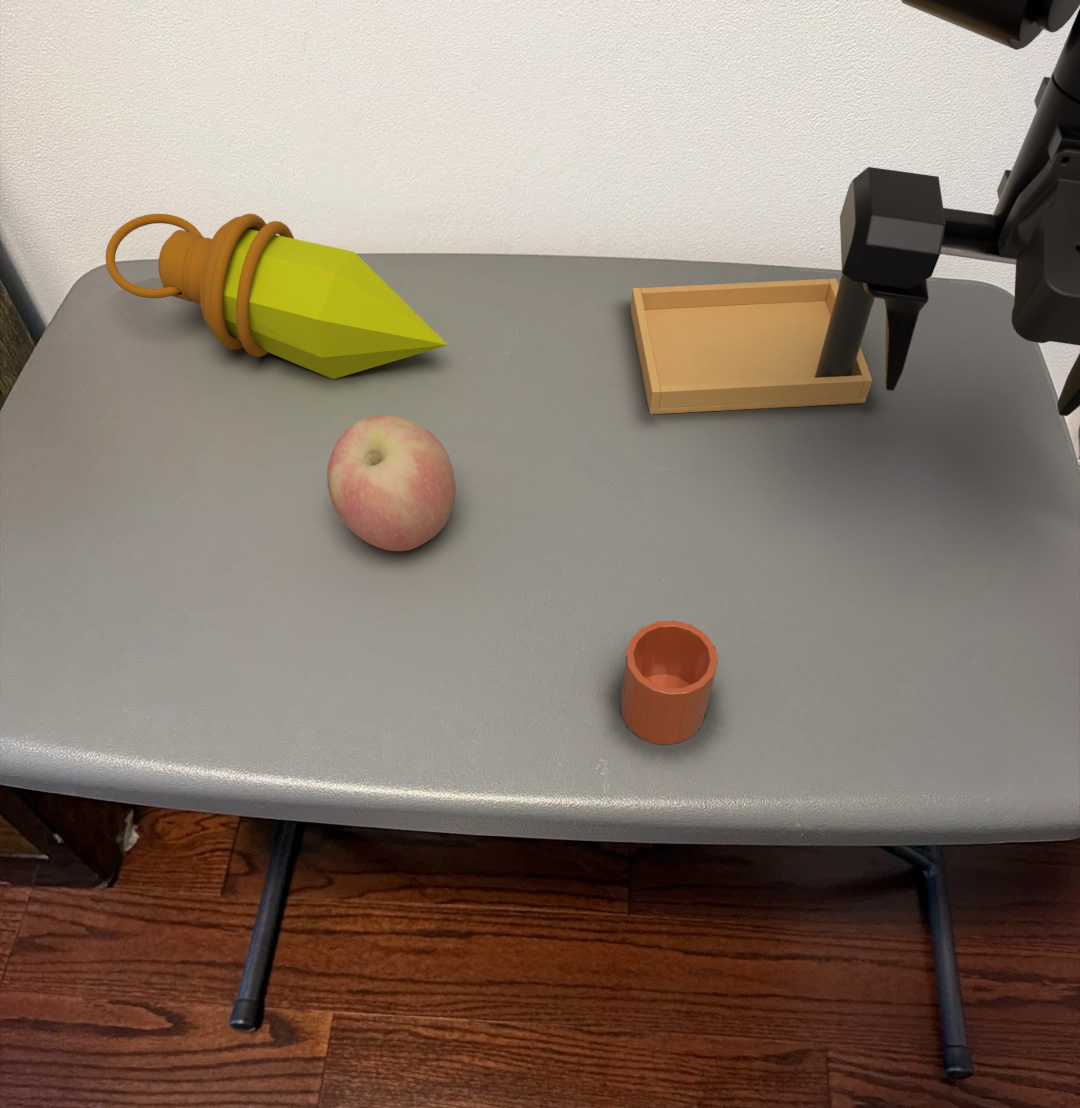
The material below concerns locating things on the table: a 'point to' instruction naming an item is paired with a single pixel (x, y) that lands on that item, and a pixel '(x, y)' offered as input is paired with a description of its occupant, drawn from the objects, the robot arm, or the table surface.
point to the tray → (739, 346)
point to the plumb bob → (283, 295)
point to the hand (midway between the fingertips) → (974, 398)
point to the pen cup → (667, 681)
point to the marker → (845, 329)
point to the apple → (391, 482)
